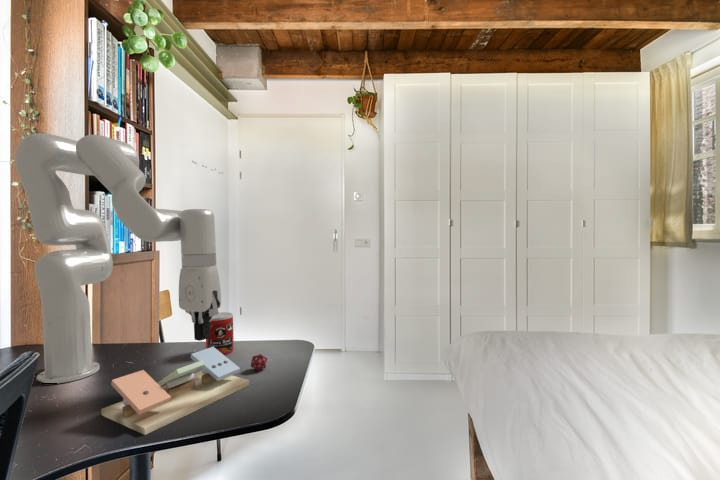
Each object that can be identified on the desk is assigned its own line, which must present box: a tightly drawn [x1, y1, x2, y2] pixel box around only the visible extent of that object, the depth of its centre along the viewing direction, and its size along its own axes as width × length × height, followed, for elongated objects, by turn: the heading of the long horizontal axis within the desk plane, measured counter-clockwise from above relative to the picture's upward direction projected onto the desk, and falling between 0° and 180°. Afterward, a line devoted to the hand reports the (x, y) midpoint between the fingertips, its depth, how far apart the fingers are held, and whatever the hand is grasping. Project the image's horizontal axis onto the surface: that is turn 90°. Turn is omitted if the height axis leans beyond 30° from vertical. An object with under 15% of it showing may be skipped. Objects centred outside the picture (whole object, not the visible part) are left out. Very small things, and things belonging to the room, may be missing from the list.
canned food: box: [205, 311, 235, 356], centre depth 111 cm, size 8×8×11 cm
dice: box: [250, 353, 268, 371], centre depth 96 cm, size 4×4×4 cm
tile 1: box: [110, 369, 171, 415], centre depth 73 cm, size 10×6×2 cm, turn 60°
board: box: [100, 370, 250, 436], centre depth 80 cm, size 15×24×3 cm, turn 149°
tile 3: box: [190, 347, 241, 381], centre depth 87 cm, size 10×6×2 cm, turn 60°
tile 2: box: [156, 360, 204, 389], centre depth 80 cm, size 10×6×2 cm, turn 58°
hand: (202, 338), depth 90 cm, fingers closed
